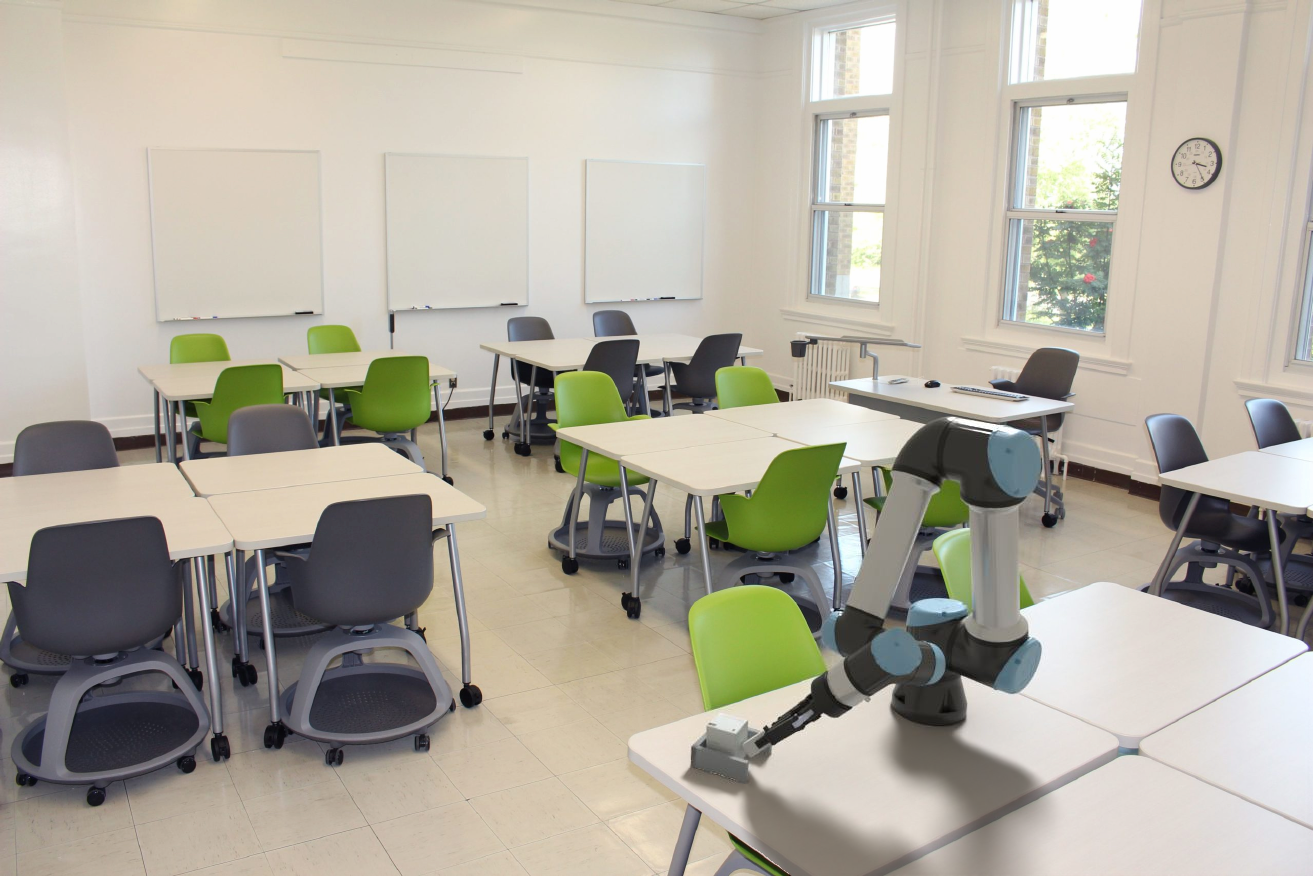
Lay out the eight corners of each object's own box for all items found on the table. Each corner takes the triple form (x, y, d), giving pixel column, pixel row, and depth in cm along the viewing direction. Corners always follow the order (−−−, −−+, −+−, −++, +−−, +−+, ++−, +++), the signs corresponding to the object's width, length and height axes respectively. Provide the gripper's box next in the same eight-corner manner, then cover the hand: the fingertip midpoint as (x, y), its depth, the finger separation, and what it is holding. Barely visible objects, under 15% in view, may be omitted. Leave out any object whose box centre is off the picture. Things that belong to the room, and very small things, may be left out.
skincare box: (747, 755, 189) (749, 719, 187) (734, 770, 184) (736, 733, 182) (718, 746, 192) (719, 711, 190) (704, 761, 186) (705, 725, 185)
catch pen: (718, 737, 195) (719, 719, 194) (771, 753, 190) (772, 734, 189) (690, 766, 185) (691, 746, 184) (745, 783, 180) (746, 763, 179)
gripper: (842, 722, 167) (745, 784, 179) (866, 691, 179) (773, 751, 190) (814, 685, 169) (719, 748, 180) (839, 656, 180) (749, 718, 191)
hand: (747, 750), depth 185 cm, fingers closed
